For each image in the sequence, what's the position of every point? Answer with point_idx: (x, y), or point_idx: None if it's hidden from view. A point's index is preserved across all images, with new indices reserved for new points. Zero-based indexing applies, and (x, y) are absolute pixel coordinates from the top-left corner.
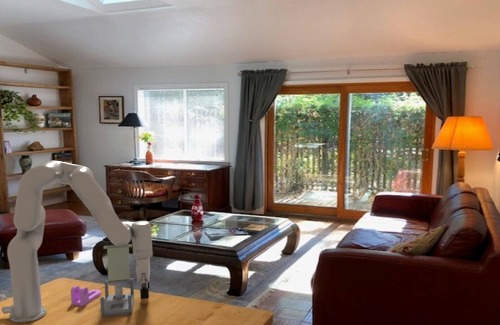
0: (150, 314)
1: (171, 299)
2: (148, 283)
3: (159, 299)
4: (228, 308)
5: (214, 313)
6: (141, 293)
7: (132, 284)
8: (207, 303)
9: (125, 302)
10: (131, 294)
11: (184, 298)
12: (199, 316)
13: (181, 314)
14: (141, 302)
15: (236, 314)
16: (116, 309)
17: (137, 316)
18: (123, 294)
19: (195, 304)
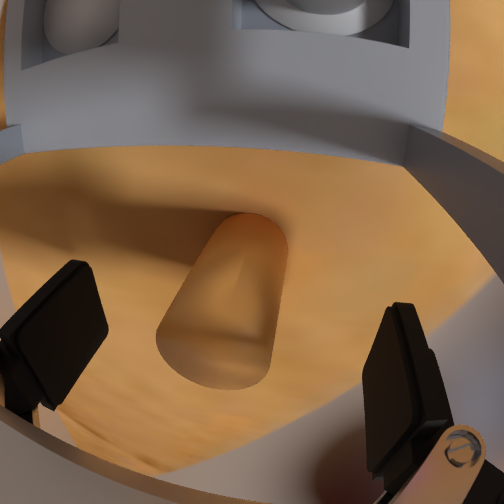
0: (47, 266)
1: (250, 403)
2: (367, 423)
3: (275, 356)
4: (137, 466)
5: (101, 439)
6: (39, 307)
7: (466, 212)
8: (175, 460)
9: (125, 59)
10: (383, 132)
11: (245, 439)
12: (73, 410)
13: None
14: (221, 225)
15: (104, 458)
16: (10, 22)
17: (20, 185)
18: (418, 25)
19: (169, 441)
